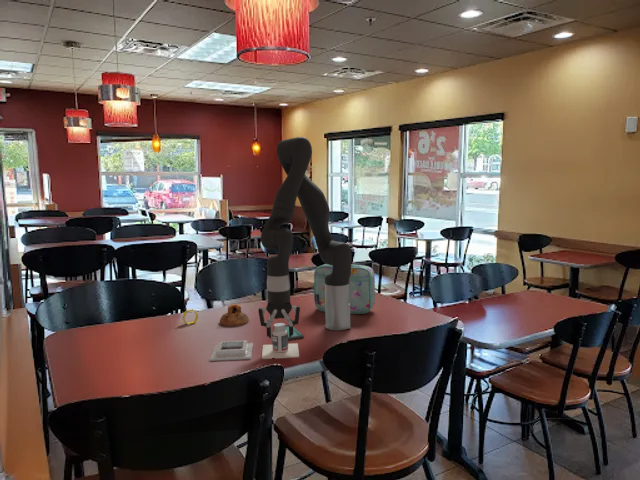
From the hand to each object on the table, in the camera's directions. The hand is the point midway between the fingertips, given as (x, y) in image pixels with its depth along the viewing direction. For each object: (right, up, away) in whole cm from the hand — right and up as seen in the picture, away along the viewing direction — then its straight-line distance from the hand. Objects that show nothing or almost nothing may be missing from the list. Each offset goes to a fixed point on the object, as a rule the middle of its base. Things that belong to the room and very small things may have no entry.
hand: (280, 336), depth 161 cm
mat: (0, -5, +1) cm, 5 cm away
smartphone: (+1, -3, +19) cm, 19 cm away
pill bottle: (0, -5, +1) cm, 5 cm away
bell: (-21, -1, +34) cm, 40 cm away
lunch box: (+23, +1, +46) cm, 52 cm away
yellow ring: (-39, -1, +33) cm, 51 cm away
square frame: (-16, -5, 0) cm, 17 cm away
